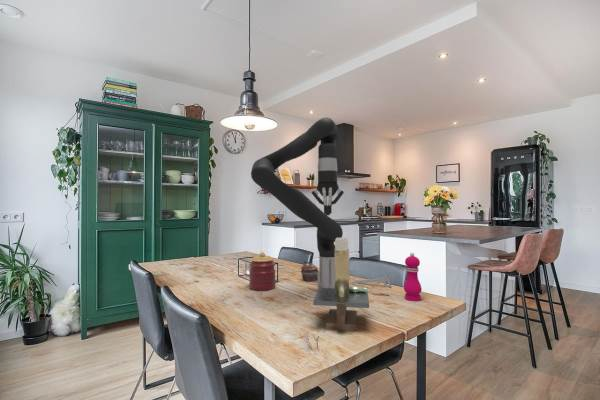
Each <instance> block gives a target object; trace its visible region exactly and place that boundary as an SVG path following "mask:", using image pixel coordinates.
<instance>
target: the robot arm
mask: <svg viewBox="0 0 600 400" xmlns="http://www.w3.org/2000/svg"><path fill="white" fill-rule="evenodd" d="M319 142H320V144H319ZM337 143H338V126H337V124H336V122H334V120H333V119H332V118H330V117H322V118H320V119H318V120H316V122H314V123H313V124H312V125H311V126H310V127H309V128H308V129H307V131H305V132H304V133H302V134H300V135H299V136H298V137H296V138H295V139H294V140H292V141H290V142H289V143H287V144H285V145H284V146H282V147H281V148H278V149H277V150H275V151H273V152H272V153H269V154H267V155H265V156H263V157H261V158H259V159H257V160H255V161H254V163H253V164H252V167H251V171H250V177H251V179H252V181H253V183H255V184H256V185H257V186H259V187H260V188H261V189H263V190H265V191H266V192H267V193H269V194H270V195H272V196H273V197H274V198H275V199H277V200H278V201H279V202H280V203H281V204H283V206H285V207H286V208H287V209H288V210H289V211H291V213H293V214H294V216H296V217H297V218H300V219H301V220H303V221H305V222H307V223H309V224H311V225H312V226H314V227H315V228H317V229H316V243H317V246H316V247H317V252H318V254H319V255H318V256H319V257H318V259H319V260H318V262H319V264H318V265H319V266H318V267H319V270H318V271H319V272H318V280H317V290H318V289H319V288H335V239H336V238H337V237H338V238H343V232H344V231H343V228H342V226H341V225H340V223H338V222H337V221H335V220H334V219H332V217H330V215H331V214H332V211H333V210H332V206H333V205H335V204H337V203H338V202H339V200H340V199H341V198H342V197H343V195H344V193H345V192H344V190H342V189H341V188H339V184H338V161H337V160H338V159H337ZM318 144H319V145H318ZM317 146H318V156H317V159H318V162H317V185H316V189H314V190H311V194H312V195H313V198H315V200H316V201H317V202H318V204H320V205H323V210H321V209H320V208H319V207H318V205H316V203H314V202H312V201H311V199H310V198H309V197H308V196H306V195H305V194H304V193H303V192H302V191H301V190H299V189H298V188H295V187H292V186H290V185H288V184H286V183H285V182H284V181H282V180H281V178H279V176H277V174H276V173H275V171H276V170H277V169H278V168H279V167H280V166H282V165H284V164H286V163H287V162H289V161H292V160H295V159H298V158H300V157H302V156H304V155H305V154H307V153H308V152H309V151H312V150H313V149H314V148H316V147H317ZM336 193H337V194H336ZM319 194H320V195H321V196H322V198H320V196H319ZM335 195H336V197H335V198H334V199H333V197H334V196H335Z"/></svg>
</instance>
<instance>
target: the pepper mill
mask: <svg viewBox="0 0 600 400" xmlns="http://www.w3.org/2000/svg"><path fill="white" fill-rule="evenodd" d="M420 262H421V261H420V258H419V257H417V256H415V253H414V252H410V254H409V256H408V257H407V256H406V258H405V261H404V264H405V266H406V271H407V277H406V279H405V280H406V281H405V282H404V284H403V290H404V292H405V294H404V296H405V297H404V298H405V300H408V301H410V302H411V301H412V302H419V301H421V298H422V297H421V295H420V294H421V293H422V290H423V289H422V285H421V283H420V281H419V277H418V274H419V273H418V272H419V266H420V264H421V263H420Z"/></svg>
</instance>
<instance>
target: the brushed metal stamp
mask: <svg viewBox="0 0 600 400" xmlns="http://www.w3.org/2000/svg"><path fill="white" fill-rule="evenodd" d="M334 245H335V288H319V289H318V288H317V291H316V294H315V296H314V298H313V299H312V300H313V302H312V305H313V306H322V307H323V306H324V307H325V306H326V307H337V302H339V303H344V307H347V308H358V309H360V308H361V309H369V308H370V300H369V291H368V288H367V287H363V286H362V287H361V286H350V249H349V237H342V238H338V237H337V238H336V239H335V242H334Z"/></svg>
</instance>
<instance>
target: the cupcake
mask: <svg viewBox="0 0 600 400" xmlns="http://www.w3.org/2000/svg"><path fill="white" fill-rule="evenodd" d="M300 269H301V270H300V271H301V272H300V273H301V276H302V281H304V282H307V283H314V282H318V272H319V270H318V266H317V265H315V263H313V262H312V261H309V262H307V261H304V262H303V264H302V266H301V267H300Z"/></svg>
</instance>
